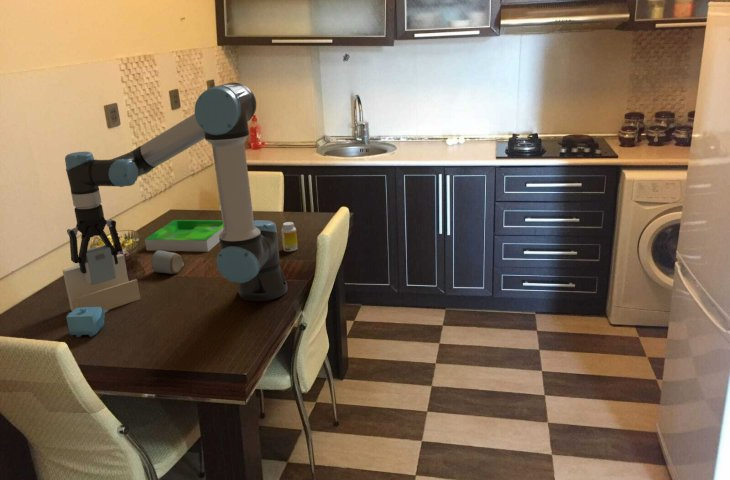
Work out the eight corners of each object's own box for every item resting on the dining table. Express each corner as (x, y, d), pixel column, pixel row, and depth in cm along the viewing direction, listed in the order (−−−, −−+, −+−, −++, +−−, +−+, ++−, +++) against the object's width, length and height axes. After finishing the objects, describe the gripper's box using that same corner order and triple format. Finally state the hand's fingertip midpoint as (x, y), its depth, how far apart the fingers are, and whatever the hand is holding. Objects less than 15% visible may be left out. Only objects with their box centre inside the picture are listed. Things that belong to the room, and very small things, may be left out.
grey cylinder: (173, 277, 211) (170, 256, 208) (152, 275, 213) (149, 254, 211) (190, 266, 220) (187, 246, 218) (170, 265, 223) (167, 244, 220)
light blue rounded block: (116, 326, 177) (112, 302, 174) (108, 337, 171) (103, 312, 168) (75, 328, 177) (69, 304, 174) (65, 338, 171) (59, 313, 169)
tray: (208, 252, 234) (206, 240, 233) (146, 251, 238) (144, 239, 237) (232, 231, 257) (230, 220, 256) (175, 231, 262) (174, 219, 260)
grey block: (116, 278, 189) (111, 247, 186) (93, 285, 185) (87, 254, 181) (110, 275, 192) (105, 244, 189) (88, 282, 188) (81, 251, 184)
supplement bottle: (300, 249, 232) (298, 223, 229) (288, 253, 229) (285, 226, 226) (292, 245, 236) (290, 220, 233) (280, 249, 233) (277, 223, 230)
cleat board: (140, 299, 194) (133, 260, 190) (82, 318, 183) (73, 277, 178) (128, 291, 200) (121, 253, 196) (70, 309, 189) (62, 269, 185)
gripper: (115, 196, 190) (128, 266, 197) (47, 210, 177) (63, 285, 184) (126, 200, 185) (138, 272, 192) (56, 215, 172) (72, 291, 179)
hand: (101, 278), depth 188 cm, fingers closed on grey block, 7 cm apart
